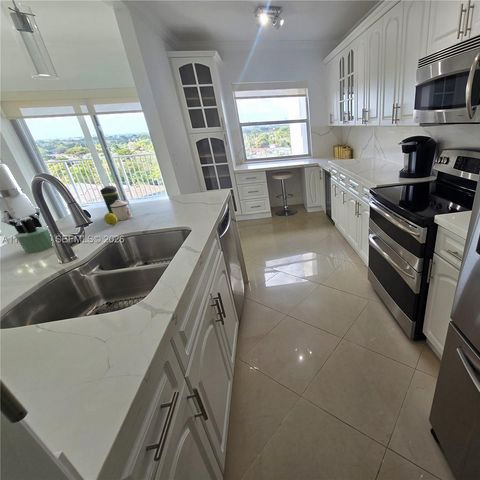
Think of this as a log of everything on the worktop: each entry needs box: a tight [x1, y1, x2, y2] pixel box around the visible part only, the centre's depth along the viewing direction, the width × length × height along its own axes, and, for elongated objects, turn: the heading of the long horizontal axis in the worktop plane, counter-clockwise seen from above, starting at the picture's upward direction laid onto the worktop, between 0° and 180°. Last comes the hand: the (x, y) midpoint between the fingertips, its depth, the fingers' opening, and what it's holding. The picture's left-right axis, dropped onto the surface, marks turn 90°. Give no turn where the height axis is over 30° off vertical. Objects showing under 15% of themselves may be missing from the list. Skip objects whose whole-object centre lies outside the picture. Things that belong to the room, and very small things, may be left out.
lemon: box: [103, 212, 118, 227], centre depth 147 cm, size 6×6×8 cm
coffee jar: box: [99, 185, 122, 214], centre depth 164 cm, size 10×8×19 cm
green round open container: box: [16, 231, 54, 254], centre depth 123 cm, size 11×11×8 cm
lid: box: [14, 217, 48, 239], centre depth 120 cm, size 12×12×7 cm
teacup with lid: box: [110, 200, 133, 221], centre depth 159 cm, size 12×9×12 cm
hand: (30, 229), depth 120 cm, fingers open, 6 cm apart
